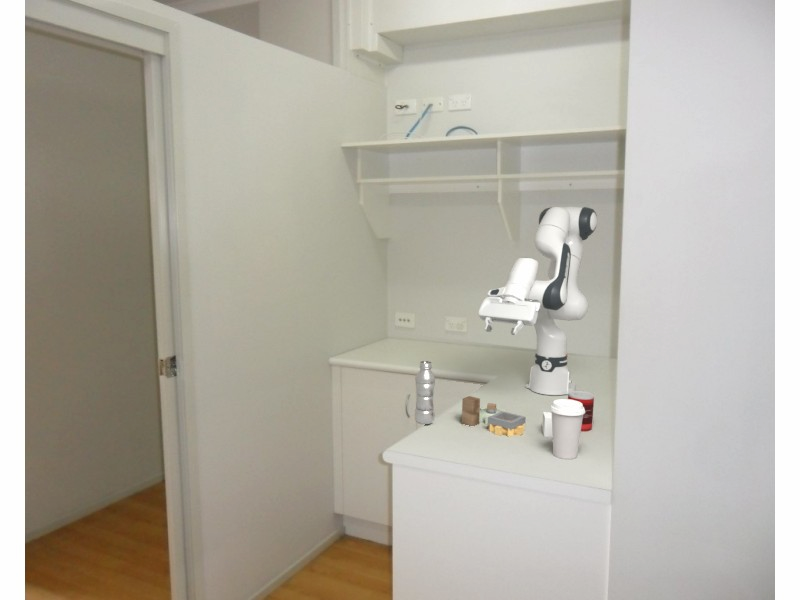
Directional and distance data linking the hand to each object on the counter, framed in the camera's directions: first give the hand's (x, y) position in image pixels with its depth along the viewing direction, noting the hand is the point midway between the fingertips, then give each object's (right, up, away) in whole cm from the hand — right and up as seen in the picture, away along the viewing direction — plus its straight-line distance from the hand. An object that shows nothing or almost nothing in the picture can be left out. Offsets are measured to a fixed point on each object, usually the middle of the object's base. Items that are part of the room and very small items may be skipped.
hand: (500, 332), depth 207 cm
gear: (-3, -29, +1) cm, 29 cm away
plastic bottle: (-25, -29, -4) cm, 39 cm away
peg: (-10, -29, -4) cm, 31 cm away
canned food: (+24, -30, -6) cm, 39 cm away
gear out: (0, -30, -10) cm, 32 cm away
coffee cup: (+13, -33, -30) cm, 46 cm away
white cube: (+14, -31, -12) cm, 36 cm away
